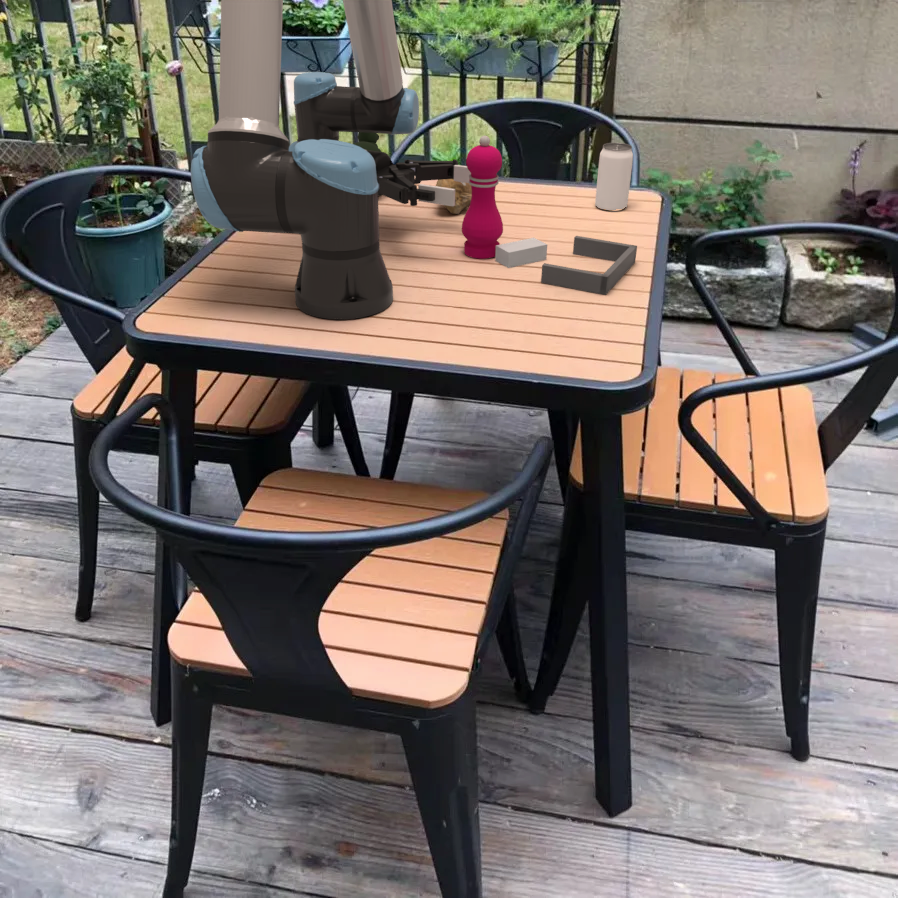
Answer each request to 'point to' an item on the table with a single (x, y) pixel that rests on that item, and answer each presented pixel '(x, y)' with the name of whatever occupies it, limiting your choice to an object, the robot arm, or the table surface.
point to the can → (614, 176)
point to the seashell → (457, 194)
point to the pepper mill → (482, 202)
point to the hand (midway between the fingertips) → (471, 187)
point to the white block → (521, 252)
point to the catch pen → (586, 279)
